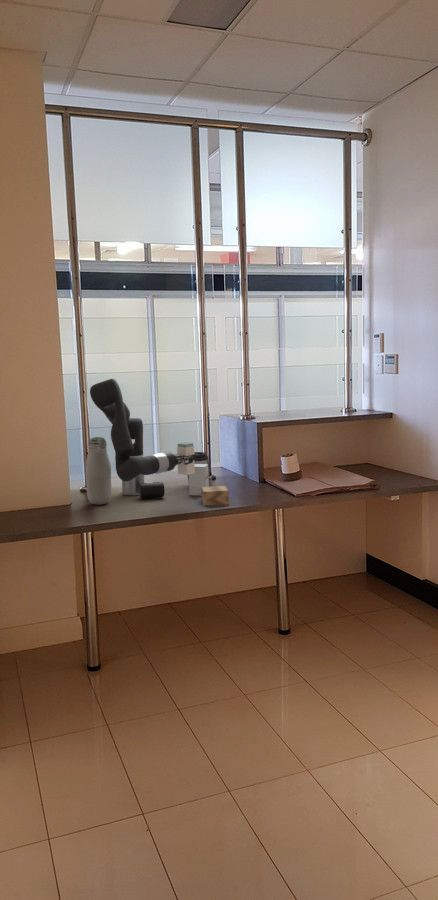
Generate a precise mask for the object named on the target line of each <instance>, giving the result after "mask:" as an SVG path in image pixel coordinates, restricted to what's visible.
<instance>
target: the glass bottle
mask: <svg viewBox="0 0 438 900" xmlns="http://www.w3.org/2000/svg"><path fill="white" fill-rule="evenodd" d="M87 445H88V451H87V458H86V463H85V466H84V467H85V482H86V483H85V485H86V486H85V487H86V495H87V499H88V501H89V503H91V504H92V505H96V506H98V505H99V506H100V505H105V504H107V503H109V502H110V500H111V499H112V466H111V461H110V459H109V454H108V450H107V441H106V438H104V437H102V436H100V437H99V436H94V437H92V438H90V439H89V440H88V444H87Z"/></svg>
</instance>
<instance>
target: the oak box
mask: <svg viewBox="0 0 438 900" xmlns="http://www.w3.org/2000/svg"><path fill="white" fill-rule="evenodd" d="M201 490H202V496H201V502H202V504H203V506H204V505H212V506H225V505H226V506H227V505H229V504H230V501H229V499H230V496H229V492H230V491H229V489H228V488H227V486H226V485H213V486H212V485H211V486H209V487H201Z"/></svg>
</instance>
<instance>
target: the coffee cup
mask: <svg viewBox="0 0 438 900" xmlns="http://www.w3.org/2000/svg"><path fill="white" fill-rule="evenodd" d="M194 455H196V460H194V463H195V464H208V460H209V456H208V455H207V453H206V452H205V451H204V452H203V451H202V452H201V451H194ZM186 476H187V483H188V484H189V475H186Z"/></svg>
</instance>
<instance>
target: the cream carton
mask: <svg viewBox="0 0 438 900" xmlns="http://www.w3.org/2000/svg"><path fill="white" fill-rule="evenodd" d="M194 452H195V445H194V443H193V442H179V443H177V447H176V454H177V455H185V456H188V455H194ZM182 460H183V457H182ZM194 473H195V463H194V460H193V463H190V464H187V465H185V464H180V465H177V475H183V476H187V475H189V474H194Z"/></svg>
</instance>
